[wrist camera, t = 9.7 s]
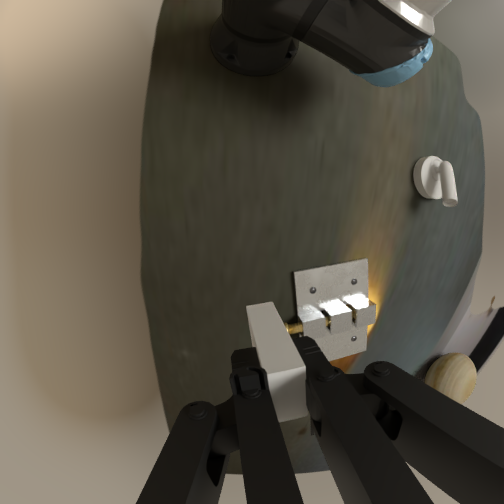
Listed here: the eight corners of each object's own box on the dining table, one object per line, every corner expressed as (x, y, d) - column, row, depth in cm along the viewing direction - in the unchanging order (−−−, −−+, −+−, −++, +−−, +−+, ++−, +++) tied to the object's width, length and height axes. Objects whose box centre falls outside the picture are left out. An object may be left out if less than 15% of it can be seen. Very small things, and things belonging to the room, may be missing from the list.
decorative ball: (404, 383, 56) (436, 417, 41) (439, 335, 55) (477, 362, 40) (429, 394, 59) (457, 422, 44) (459, 352, 58) (492, 375, 43)
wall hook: (440, 197, 37) (449, 144, 36) (407, 195, 46) (417, 150, 45) (467, 214, 38) (475, 166, 37) (435, 210, 48) (443, 167, 46)
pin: (280, 320, 47) (284, 327, 45) (361, 302, 49) (368, 307, 46) (282, 334, 48) (285, 341, 45) (361, 315, 49) (368, 321, 46)
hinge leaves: (292, 271, 46) (299, 277, 43) (365, 257, 48) (376, 262, 44) (300, 365, 50) (306, 376, 47) (364, 348, 52) (372, 357, 48)
